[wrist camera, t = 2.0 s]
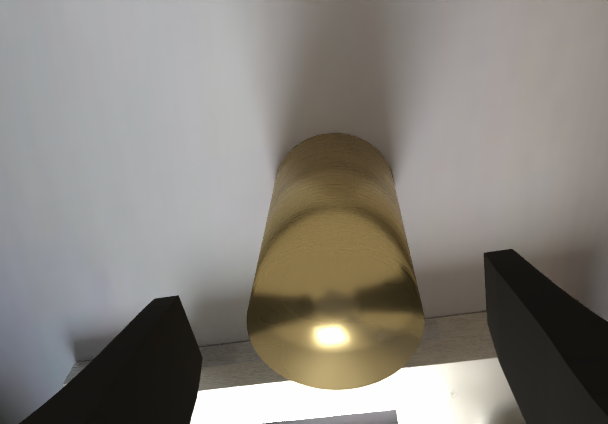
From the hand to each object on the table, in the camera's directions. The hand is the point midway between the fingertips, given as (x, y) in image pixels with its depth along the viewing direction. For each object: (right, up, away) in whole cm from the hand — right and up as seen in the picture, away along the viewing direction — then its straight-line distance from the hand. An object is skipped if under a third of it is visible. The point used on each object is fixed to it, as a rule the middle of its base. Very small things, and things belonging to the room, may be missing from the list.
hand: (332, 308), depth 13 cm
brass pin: (0, +3, +6) cm, 6 cm away
